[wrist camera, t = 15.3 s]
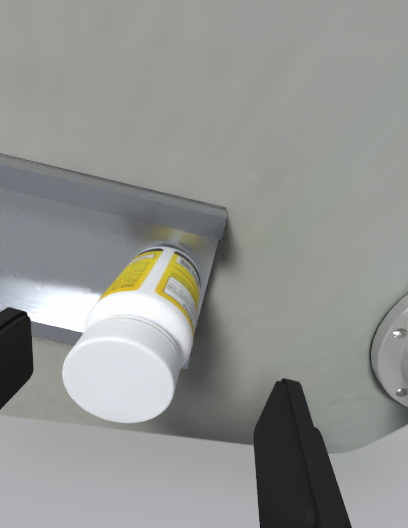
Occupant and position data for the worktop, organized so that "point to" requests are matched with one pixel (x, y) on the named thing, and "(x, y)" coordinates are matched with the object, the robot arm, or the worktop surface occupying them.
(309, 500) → the robot arm
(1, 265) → the channel
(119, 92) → the worktop surface
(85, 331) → the supplement bottle
